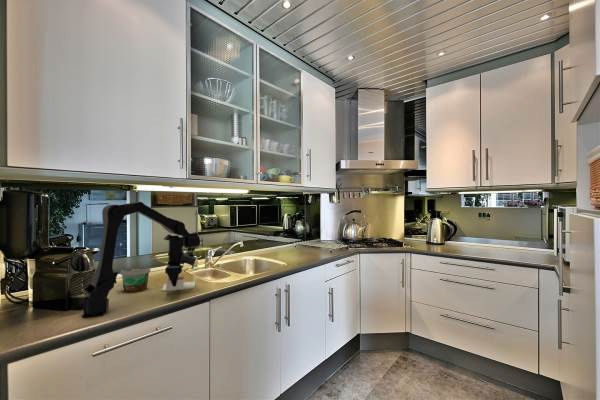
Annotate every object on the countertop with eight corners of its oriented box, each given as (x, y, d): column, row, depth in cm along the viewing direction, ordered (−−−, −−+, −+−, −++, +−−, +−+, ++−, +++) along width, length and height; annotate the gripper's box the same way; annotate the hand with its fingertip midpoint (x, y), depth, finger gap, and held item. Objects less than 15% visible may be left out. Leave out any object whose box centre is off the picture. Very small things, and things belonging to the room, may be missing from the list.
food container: (115, 294, 120) (115, 271, 120) (120, 290, 126) (120, 268, 126) (146, 292, 123) (147, 270, 123) (150, 288, 129) (150, 267, 129)
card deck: (183, 288, 121) (183, 279, 121) (166, 290, 119) (166, 280, 119) (183, 285, 126) (183, 276, 126) (166, 287, 123) (166, 277, 123)
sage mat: (161, 291, 125) (161, 290, 125) (164, 285, 134) (164, 283, 134) (194, 288, 129) (194, 287, 129) (195, 282, 139) (195, 281, 139)
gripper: (194, 252, 116) (193, 289, 116) (195, 245, 134) (195, 277, 134) (165, 253, 113) (164, 291, 112) (170, 246, 130) (170, 279, 130)
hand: (175, 284), depth 122 cm, fingers closed on card deck, 5 cm apart
